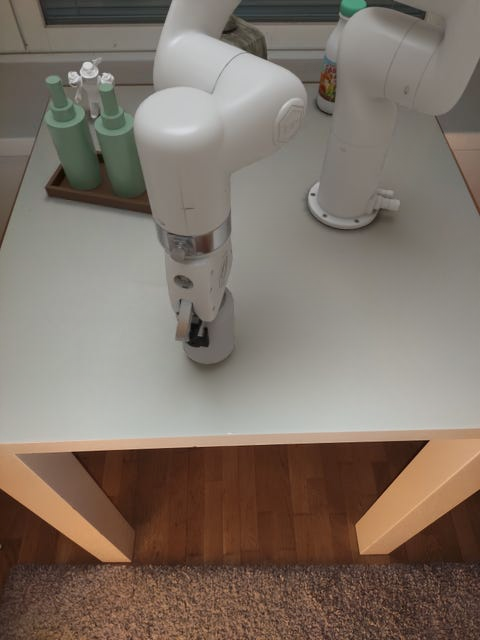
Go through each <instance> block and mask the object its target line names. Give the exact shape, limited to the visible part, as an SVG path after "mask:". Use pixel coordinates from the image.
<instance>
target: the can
mask: <svg viewBox="0 0 480 640" xmlns="http://www.w3.org/2000/svg"><path fill="white" fill-rule="evenodd" d="M178 317H179V315H176V314H175V318H176V322H177V323H178ZM198 322H199V318H198V317H193V316H192V321H191V323H196V324H198ZM235 323H236V322H235V300H234V296H233V293H232V292H231V290H230V289H229V288H228V287H227V286H226V287H225V291H224V294H223V297H222V300H221V304H220V307H219V310H218V313H217V315H216V317H215V319H214V320H212V321H211V322H207V321H205V327H207V328H208V335H209V347H202V346H200V347H199V348H196V347H191V346H189V345H188V344H187V343H185V342H182V341H181V344H182V348H183V351H184V352H185V354H186V355H187V357H188V358H190V359H191V360H192V361H194V362H197V363H199V364H204V365H213V364H216V363H220V362H222V361H224V360H225V359H227V357H229V356H230V354H231V353H232V352H233V349H234V347H235V345H236V324H235Z"/></svg>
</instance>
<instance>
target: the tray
mask: <svg viewBox="0 0 480 640" xmlns="http://www.w3.org/2000/svg"><path fill="white" fill-rule="evenodd" d="M96 152H97V156H98V159H99V162H100V166H101V169H102V173H103V181H102V183H101V184H100V185H99V186H97V187H96V188H94V189H91V190H87V191H81V190H75V189H73V188H72V187H71V186H70V185H69V183H68V180H67V178H66V175H65V172H64V170H63V167H62V164H61V162H60V164H59V165H58V166H57V167H56V169H55V171H54V172H53V174H52V175H51V177H50V178H49V180H48V182H47V183H46V184H45V186H44V190H45V192H46V195H47V196H48V197H51V198H54V199H55V198H56V199H61V200H66V201H67V200H68V201H74V202H78V203H85V204H91V205H95V206H101V207H107V208H113V209H118V210H124V211H130V212H136V213H141V214H148V215H152V210H151V206H150V202H149V198H148V193H147V189H146V190H145V191H144V192H143V193H142V194H141V195H139V196H137V197H134V198H121V197H118V196H117V195H115V194H114V193H113V191H112V188H111V184H110V181H109V177H108V174H107V170H106V166H105V163H104V159H103V156H102V152H101V150H96Z"/></svg>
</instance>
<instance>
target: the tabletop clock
mask: <svg viewBox="0 0 480 640" xmlns="http://www.w3.org/2000/svg"><path fill="white" fill-rule="evenodd" d="M237 8H238V6H237V7H236V8H235V9H237ZM219 40H220V41H223V42H225V43H227V44H230V45H232V46H234V47H237V48H239V49H241V50H244V51H246V52H248V53H250V54H253V55H255V56H257V57H260V58H262V59H264V60H267V61H268V47H267V41H266V36H265V35H264V33H263V32H262V31H261V30H260V29H259V28H258V27H256V25H253V24H252V23H250V22H248V21H246V20H244V19H242V18H240V17H238V16H236V14H235V13H234V12H233V13H232V14H231V16H230V17H229V19H228V21H227V23H226V25H225V27H224V29H223V32H222V34H221V37H220V39H219Z"/></svg>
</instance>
